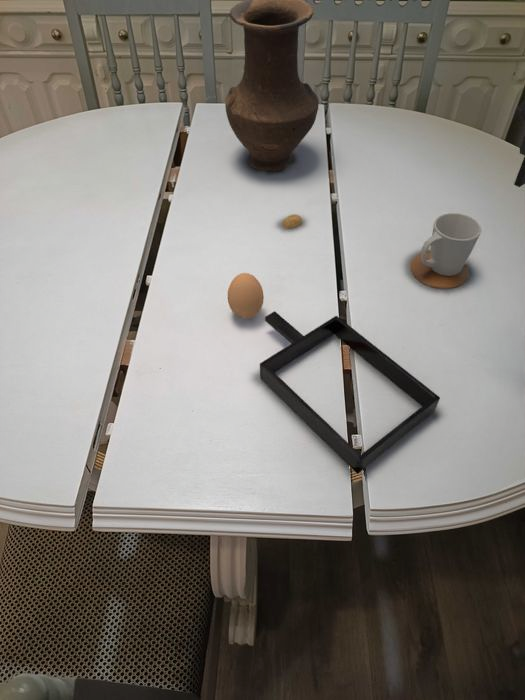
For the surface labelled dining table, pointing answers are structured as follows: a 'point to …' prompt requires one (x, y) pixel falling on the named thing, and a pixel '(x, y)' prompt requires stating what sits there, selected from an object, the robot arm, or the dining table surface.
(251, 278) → the egg
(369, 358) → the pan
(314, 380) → the dining table surface
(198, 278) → the dining table surface
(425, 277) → the coaster
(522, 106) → the robot arm
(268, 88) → the vase
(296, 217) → the potato
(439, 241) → the cup
